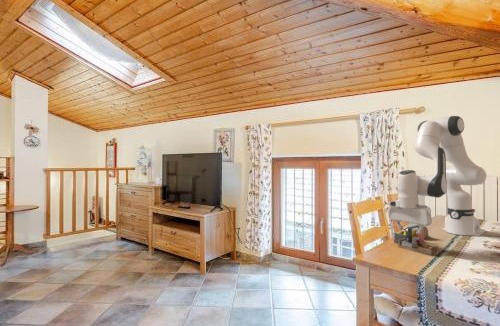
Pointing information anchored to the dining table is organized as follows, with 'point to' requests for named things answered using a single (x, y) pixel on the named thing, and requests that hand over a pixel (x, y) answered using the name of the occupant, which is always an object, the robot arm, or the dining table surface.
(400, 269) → the dining table surface
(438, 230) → the dining table surface
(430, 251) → the track
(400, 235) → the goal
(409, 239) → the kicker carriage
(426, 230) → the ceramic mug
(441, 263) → the dining table surface
